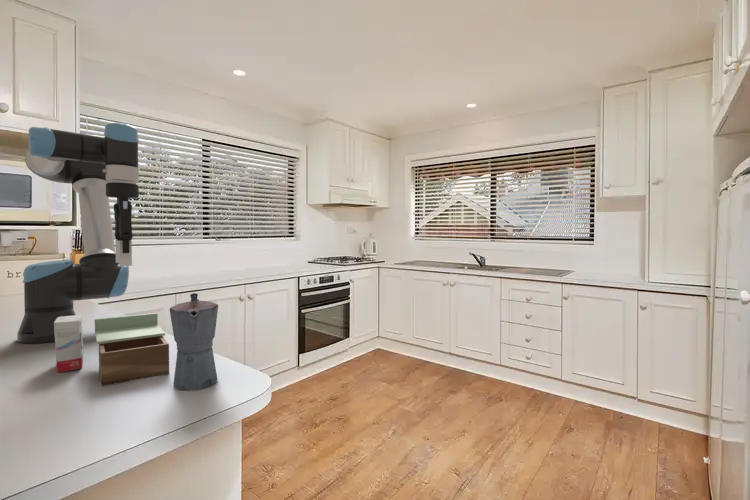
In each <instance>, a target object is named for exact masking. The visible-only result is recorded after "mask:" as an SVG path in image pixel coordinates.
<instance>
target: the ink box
mask: <svg viewBox="0 0 750 500" xmlns="http://www.w3.org/2000/svg"><path fill="white" fill-rule="evenodd" d="M82 321H83V320H82V314H77V315H74V316H62V317H58V318H57V319H56V321H55V322H54V334H55V341H54V347H55V361H56V363H55V365H56V372H57V373H65V372H69V371H73V370H74V371H75V370H80V369H83V363H84V346H83V345H84V343H83V342H84V341H83V339H84V338H83V324H82V323H83V322H82Z"/></svg>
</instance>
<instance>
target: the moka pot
mask: <svg viewBox="0 0 750 500" xmlns="http://www.w3.org/2000/svg"><path fill="white" fill-rule="evenodd" d="M198 295H199V294H198V293H195V292H194V293H190V294H189V297H190V300H189V301H185V302H180V303H177V304H174V305H173V306H171V307H170V308H169V314H170V321H171V326H172V333H173V339H174V342H175V343H176V350H177V351H176V360H175V369H174V375H173V376H174V377H173V387H174V388H175V389H177V390H180V391H185V392H186V391H189V392H190V391H198V390H199V391H200V390H202V389H206V388H208V387H211V386H212V385H214V384H215V383H216V382H217V381H218V374H217V368H216V362H215V357H214V351H213V343H214V341H213V340H214V338H215V337H216V336H215V335H216V327H217V326H216V325H217V318H218V310H219V305H218V303H216V302H215V303H214V302H213V301H207V300H199V299H198Z"/></svg>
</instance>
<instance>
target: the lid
mask: <svg viewBox="0 0 750 500" xmlns="http://www.w3.org/2000/svg"><path fill="white" fill-rule="evenodd" d="M158 323H159V322H158V312H154V313H153V312H152V313H142V314H133V315H123V316H112V317H103V318H94V336H95V341H96V345H99V344H104V343H111V342H119V341H126V340H134V339H142V338H149V337H157V336H163V337H164V336H166V333H165V331H164V329H162V328H161V326H159V324H158Z"/></svg>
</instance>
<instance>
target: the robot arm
mask: <svg viewBox="0 0 750 500" xmlns="http://www.w3.org/2000/svg"><path fill="white" fill-rule="evenodd" d="M138 133H139V132H138V130H137V128H136V127H135V126H133V125H130V124H127V123H121V122H109V123H106V124H105V126H104V133H103V136H102V135H101V136H100V135H94V134H87V133H82V132H81V133H80V132H73V131H68V130H62V129H61V130H59V129H54V128H49V127H36V126H31V127H29V129H28V135H27V138H28V141H27V143H28V145H27V146H28V151H27V153H26V155H25V157H24V158H25V159H24V160H25V164H26V166H27V168H28V170H29V171H31V172H32V173H33V174H34V175H36V176H38V177H39V178H42V179H44V180H47V181H51V182H55V183H61V184H62V183H63V184H71V187H72V190H73V191H75V192H76V193H77V194H78V201H79V202H78V203H79V210H80V211H79V213H80V220H81V221H80V222H81V223H80V224H81V232H82V233H81V235H82V243H83V256H81V257H80V258H79V261H78V262H79V263H74V261H73V260H72V259H60V260H59V259H57V260H52V261H51V260H49V261H44V262H43V261H42V262H37V263H33V264H29V265H27V266H26V267H25V268H24V271H23V280H22V283H23V284H24V285H23V289H24V291H23V292H24V293H23V296H24V301H23V302H24V303H23V304H24V306H23V307H24V316H23V317H22V319H21V323H20V326H19V328H18V331H17V333H16V334H17V336H16V337H17V342H18V343H22V344H40V343H51V342H55V334H54V322H55V321H56V319H57V318H58V317H62V316H74V315H76V312H75V310H74V302H75V301H86V300H99V299H110V298H117V297H121V296H123V295H124V294H125V293H126V291H127V287H128V284H129V276H130V275H129V274H130V268H129V267H130V266H131V267H132V266H133V256H132V255H133V251H132V249H133V243H132V240H133V235H134V234H133V226H132V225H133V224H132V223H133V222H132V217H133V216H132V215H133V213H132V211H133V205H132V202H131V200H130V199H134V200H135V199H138V198H140V197H139V196H140V195H139V192H140V191H139V185H138V183H139V181H140V180H139V179H140V177H139V176H140V174H139V173H140V171H139V141H140V140H139V135H138ZM109 198H113V199H115V198H116V202H115V203H114V204H113V211H114V214H113V215H114V223H115V224H114V230H113V222H112V215H111V207H110V199H109ZM113 231H114V232H113ZM114 238H115V239H114Z"/></svg>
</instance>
